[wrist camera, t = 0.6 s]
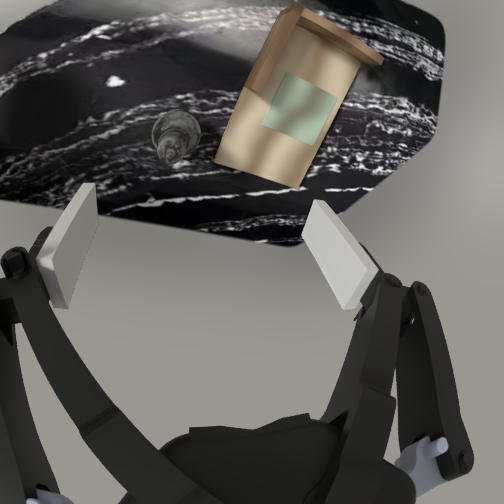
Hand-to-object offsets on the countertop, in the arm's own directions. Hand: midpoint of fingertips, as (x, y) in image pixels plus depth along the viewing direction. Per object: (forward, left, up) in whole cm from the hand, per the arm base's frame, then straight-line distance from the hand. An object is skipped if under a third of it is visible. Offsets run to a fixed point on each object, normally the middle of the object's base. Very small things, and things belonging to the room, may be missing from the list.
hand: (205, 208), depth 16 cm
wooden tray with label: (+10, +8, -22) cm, 25 cm away
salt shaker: (-3, -1, -22) cm, 23 cm away
